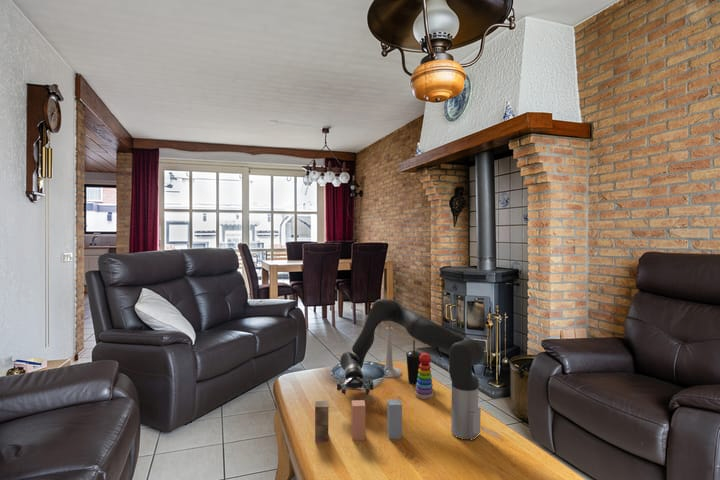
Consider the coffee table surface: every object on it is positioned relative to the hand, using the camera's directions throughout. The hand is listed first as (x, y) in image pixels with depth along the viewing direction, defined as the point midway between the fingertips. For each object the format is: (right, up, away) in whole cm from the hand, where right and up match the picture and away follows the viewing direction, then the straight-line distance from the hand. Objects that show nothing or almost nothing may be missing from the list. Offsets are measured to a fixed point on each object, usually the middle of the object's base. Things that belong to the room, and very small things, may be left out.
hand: (355, 392), depth 154 cm
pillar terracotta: (+1, -12, -11) cm, 16 cm away
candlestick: (+16, -10, +51) cm, 54 cm away
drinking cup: (+27, -10, +39) cm, 48 cm away
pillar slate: (+14, -12, -10) cm, 21 cm away
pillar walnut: (-12, -12, -12) cm, 20 cm away
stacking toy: (+29, -11, +23) cm, 39 cm away
